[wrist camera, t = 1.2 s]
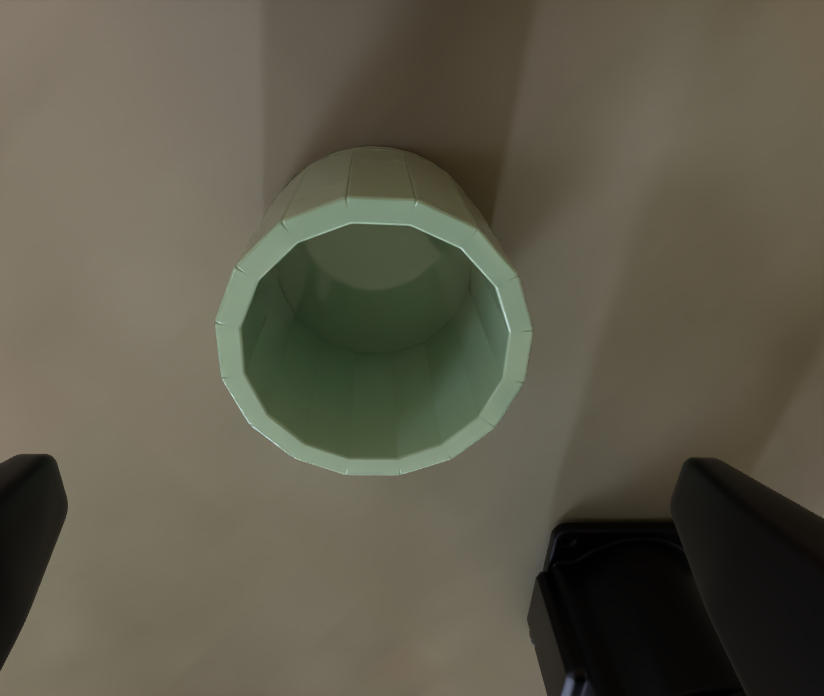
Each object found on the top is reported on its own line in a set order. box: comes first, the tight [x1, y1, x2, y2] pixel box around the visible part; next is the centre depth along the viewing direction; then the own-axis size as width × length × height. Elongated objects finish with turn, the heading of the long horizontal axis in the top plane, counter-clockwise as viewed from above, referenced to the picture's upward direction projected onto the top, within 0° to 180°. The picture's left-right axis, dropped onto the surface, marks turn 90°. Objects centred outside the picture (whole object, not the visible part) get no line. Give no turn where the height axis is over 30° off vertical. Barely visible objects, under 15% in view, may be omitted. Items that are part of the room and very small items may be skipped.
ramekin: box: [215, 146, 533, 475], centre depth 14 cm, size 6×6×6 cm
